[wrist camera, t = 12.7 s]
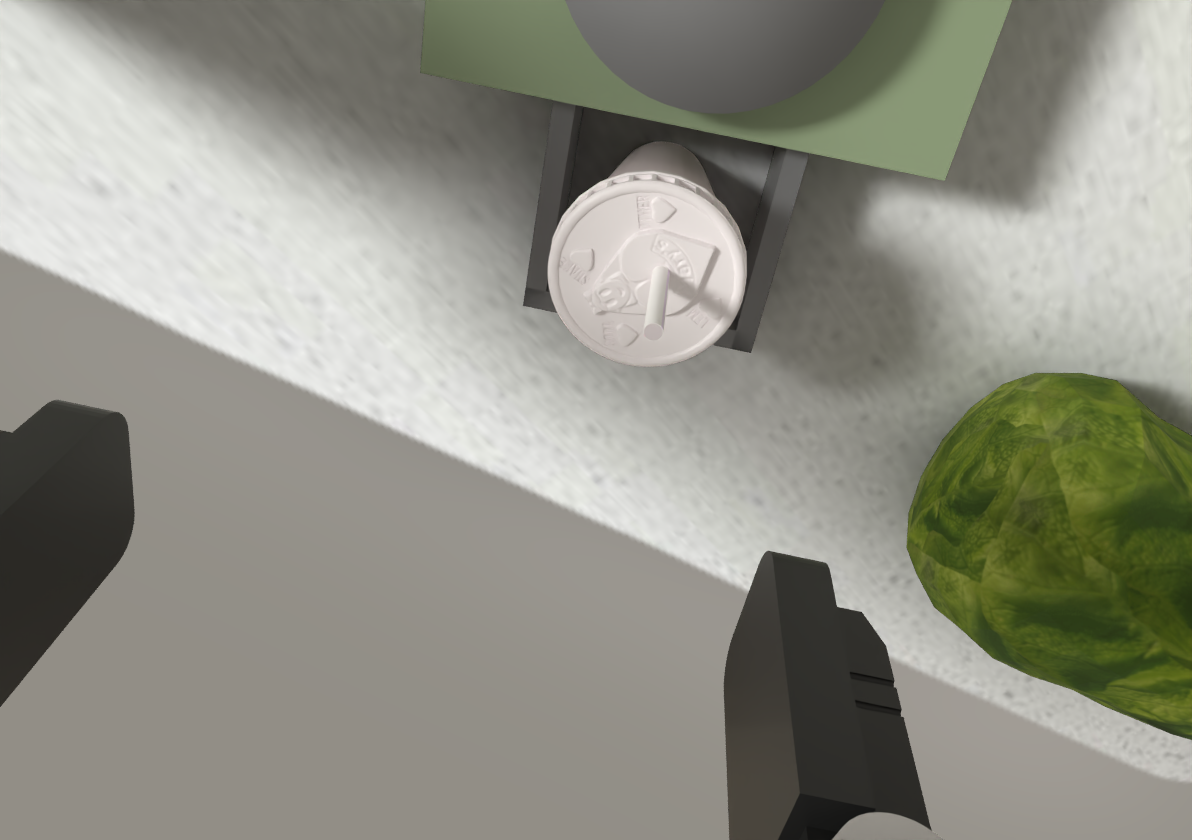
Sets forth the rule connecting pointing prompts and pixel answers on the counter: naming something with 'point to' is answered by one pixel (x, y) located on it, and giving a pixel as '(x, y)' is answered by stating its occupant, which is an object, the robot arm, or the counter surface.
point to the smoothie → (648, 261)
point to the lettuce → (1067, 541)
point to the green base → (731, 88)
